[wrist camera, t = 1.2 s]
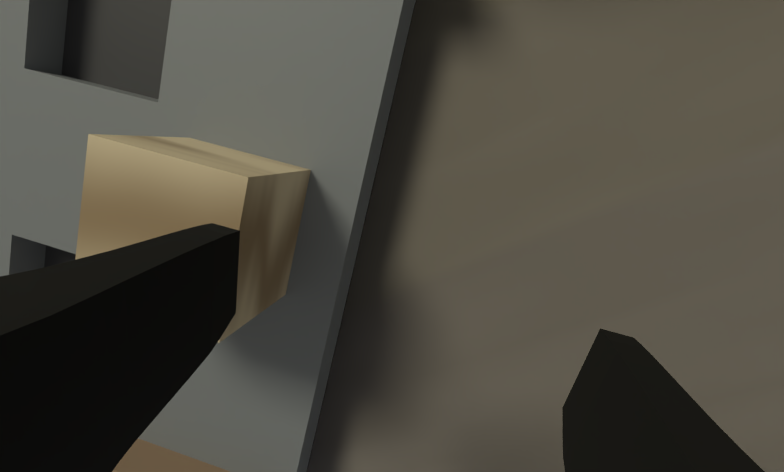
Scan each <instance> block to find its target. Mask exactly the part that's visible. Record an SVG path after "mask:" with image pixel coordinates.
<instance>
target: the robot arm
mask: <svg viewBox="0 0 784 472" xmlns="http://www.w3.org/2000/svg"><path fill="white" fill-rule="evenodd" d="M239 243H240V231H239V230H236V229H232V228H228V227H225V226H221V225H217V224H214V223H210V224H204V225H200V226H195V227H191V228H188V229H184V230H180V231H177V232H173V233H170V234H166V235H163V236H159V237H156V238H152V239H149V240H146V241H142V242H139V243H135V244H132V245H128V246H125V247H121V248H118V249H114V250H111V251H107V252H103V253H99V254H95V255H91V256H88V257H84V258H80V259H76V260H72V261H68V262H64V263H60V264H56V265H52V266H48V267H44V268H39V269H35V270H30V271H25V272H21V273H16V274H11V275H5V276H0V472H112V471H113V470H114V468H115V467H116V465H117V464H118V463H119V461H120V460H121V459H122V458H123V456H124V455H125V454H126V452H127V451H128V450H129V449H130V447H131V446H132V445H133V444H134V442H135V441H136V440H137V439H138V438H139V436H140V435H141V434H142V433H143V432H144V431H145V429H146V428H147V427H148V426H149V425H150V424H151V422H152V421H153V420H154V419H155V418H156V417H157V415H158V414H159V413H160V412H161V411H162V410H163V408H164V407H165V406H166V405H167V404H168V402H169V401H170V400H171V399H172V398H173V397H174V395H175V394H176V393H177V392H178V391H179V390H180V388H181V387H182V386H183V385H184V384H185V383H186V381H187V380H188V379H189V378H190V377H191V376H192V374H193V373H194V372H195V371H196V370H197V368H198V367H199V366H200V365H201V364H202V362H203V361H204V360H205V359H206V358H207V356H208V355H209V354H210V353H211V351H212V350H213V348H214V347H215V345H216V344H217V342H218V341H219V339H220V338H221V336H222V335H223V333H224V331H225V330H226V328H227V327H228V325H229V323H230V322H231V320H232V318H233V317H234V315H235V314H236V301H237V282H238V262H239ZM563 459H564V466H565V472H764V471H763V470H762V469H761V468H760V467H759V466H758V465H757V464H756V463H755V462H754V461H753V460H752V459H751V458H750V457H749V456H748V455H747V454H746V453H745V452H744V451H743V450H741V448H740V447H739V446H738V445H737V444H736V443H735V442H734V441H733V440H732V439H731V438H730V437H729V436H728V435H727V434H726V433H725V432H724V431H723V430H722V429H721V428H720V427H719V426H718V425H717V424H716V423H715V422H714V421H713V420H712V419H711V418H710V417H709V416H708V415H707V414H706V413H705V411H704V410H703V409H702V408H701V407H700V406H699V405H698V404H697V403H696V402H695V401H694V400H693V399H692V398H691V397H690V396H689V394H688V393H687V392H686V391H685V390H684V389H683V388H682V387H681V386H680V385H679V384H678V383H677V382H676V380H675V379H674V378H673V377H672V376H671V375H670V374H669V373H668V372H667V371H666V370H665V369H664V368H663V366H662V365H661V364H660V363H659V362H658V361H657V360H656V359H655V358H654V357H653V356H652V355H651V354H650V353H649V352H648V351H647V350H646V349H645V348H644V347H643V346H642V345H641V344H640V343H639V342H638V341H637V340H636V339H634V338H633V337H629V336H625V335H622V334H618V333H614V332H611V331H607V330H603V329H600V330H599V332H598V335H597V337H596V339H595V341H594V343H593V345H592V347H591V349H590V351H589V353H588V356H587V358H586V360H585V362H584V364H583V366H582V368H581V370H580V372H579V374H578V377H577V379H576V381H575V383H574V385H573V387H572V389H571V391H570V393H569V395H568V398H567V400H566V402H565V404H564V406H563Z"/></svg>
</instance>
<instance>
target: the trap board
mask: <svg viewBox="0 0 784 472" xmlns="http://www.w3.org/2000/svg"><path fill="white" fill-rule="evenodd" d="M415 1H416V0H0V276H5V275H11V274H16V273H21V272H25V271H30V270H35V269H39V268H44V267H48V266H52V265H56V264H60V263H64V262H68V261H72V260H75V258H76V248H77V239H78V229H79V219H80V210H81V200H82V191H83V181H84V171H85V162H86V152H87V143H88V134H103V135H130V136H158V137H186V138H193V139H196V140H200V141H204V142H208V143H212V144H215V145H219V146H223V147H227V148H231V149H234V150H238V151H242V152H246V153H249V154H253V155H257V156H261V157H265V158H268V159H272V160H276V161H280V162H284V163H287V164H291V165H295V166H299V167H302V168H306V169H310V170H311V172H310V177H309V182H308V187H307V192H306V197H305V202H304V206H303V211H302V216H301V221H300V226H299V231H298V236H297V241H296V246H295V251H294V256H293V261H292V266H291V270H290V275H289V280H288V285H287V290H286V295H284V296H283V297H282V298H280V299H279V300H277V301H276V302H275V303H273V304H272V305H271V306H269V307H268V308H266V309H265V310H264V311H262V312H261V313H260V314H258V315H257V316H255V317H254V318H253V319H251V320H250V321H249V322H247V323H246V324H244V325H243V326H242V327H240V328H239V329H238V330H236V331H235V332H234V333H232V334H231V335H229V336H228V337H227V338H225V339H224V340H223V341H221V342H220V343H218V342H217V344H216V345H215V347H214V348H213V350H212V351H211V353H210V354H209V355H208V356H207V358H206V359H205V360H204V361H203V362H202V364H201V365H200V366H199V367H198V368H197V370H196V371H195V372H194V373H193V374H192V376H191V377H190V378H189V379H188V380H187V381H186V383H185V384H184V385H183V386H182V387H181V388H180V390H179V391H178V392H177V393H176V394H175V395H174V397H173V398H172V399H171V400H170V401H169V402H168V404H167V405H166V406H165V407H164V408H163V410H162V411H161V412H160V413H159V414H158V415H157V417H156V418H155V419H154V420H153V421H152V422H151V424H150V425H149V426H148V427H147V428H146V429H145V431H144V432H143V433H142V434H141V435H140V436H139V438H138V439H137V440H136V441H135V442H134V444H133V445H132V446H131V447H130V449H129V450H128V451H127V452H126V454H125V455H124V456H123V458H122V459H121V460H120V461H119V463H118V464H117V465H116V467H115V468H114V470H113V471H112V472H307V467H308V463H309V459H310V454H311V450H312V446H313V441H314V437H315V433H316V428H317V424H318V420H319V415H320V411H321V407H322V402H323V398H324V394H325V389H326V385H327V381H328V377H329V372H330V368H331V364H332V359H333V355H334V351H335V346H336V342H337V338H338V333H339V329H340V325H341V320H342V316H343V312H344V307H345V303H346V299H347V294H348V290H349V286H350V282H351V277H352V273H353V269H354V264H355V260H356V256H357V251H358V247H359V243H360V238H361V234H362V230H363V225H364V221H365V217H366V212H367V208H368V204H369V200H370V195H371V191H372V187H373V182H374V178H375V174H376V169H377V165H378V161H379V156H380V152H381V148H382V143H383V139H384V135H385V130H386V126H387V122H388V117H389V113H390V109H391V105H392V100H393V96H394V92H395V87H396V83H397V79H398V74H399V70H400V66H401V61H402V57H403V53H404V48H405V44H406V40H407V35H408V31H409V27H410V23H411V18H412V14H413V10H414V5H415Z"/></svg>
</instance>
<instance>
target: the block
mask: <svg viewBox="0 0 784 472" xmlns="http://www.w3.org/2000/svg"><path fill="white" fill-rule="evenodd" d="M310 172H311V170H310V169H306V168H302V167H299V166H295V165H291V164H287V163H284V162H280V161H276V160H272V159H268V158H265V157H261V156H257V155H253V154H249V153H246V152H242V151H238V150H234V149H231V148H227V147H223V146H219V145H215V144H212V143H208V142H204V141H200V140H196V139H193V138H186V137H158V136H130V135H103V134H88V143H87V152H86V162H85V171H84V181H83V191H82V200H81V210H80V219H79V229H78V239H77V248H76V258H75V260H76V259H80V258H84V257H88V256H91V255H95V254H99V253H103V252H107V251H111V250H114V249H118V248H121V247H125V246H128V245H132V244H135V243H139V242H142V241H146V240H149V239H152V238H156V237H159V236H163V235H166V234H170V233H173V232H177V231H180V230H184V229H188V228H191V227H195V226H200V225H204V224H210V223H214V224H217V225H221V226H225V227H228V228H232V229H236V230H239V231H240V243H239V262H238V282H237V301H236V314H235V315H234V317H233V318H232V320H231V322H230V323H229V325H228V327H227V328H226V330H225V331H224V333H223V335H222V336H221V338H220V339H219V341H218V343H220V342H221V341H223V340H224V339H225V338H227V337H228V336H229V335H231V334H232V333H234V332H235V331H236V330H238V329H239V328H240V327H242V326H243V325H244V324H246V323H247V322H249V321H250V320H251V319H253V318H254V317H255V316H257V315H258V314H260V313H261V312H262V311H264V310H265V309H266V308H268V307H269V306H271V305H272V304H273V303H275V302H276V301H277V300H279V299H280V298H282V297H283V296H284V295H286V290H287V285H288V280H289V275H290V270H291V266H292V261H293V256H294V251H295V246H296V241H297V236H298V231H299V226H300V221H301V216H302V211H303V206H304V202H305V197H306V192H307V187H308V182H309V177H310Z"/></svg>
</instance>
